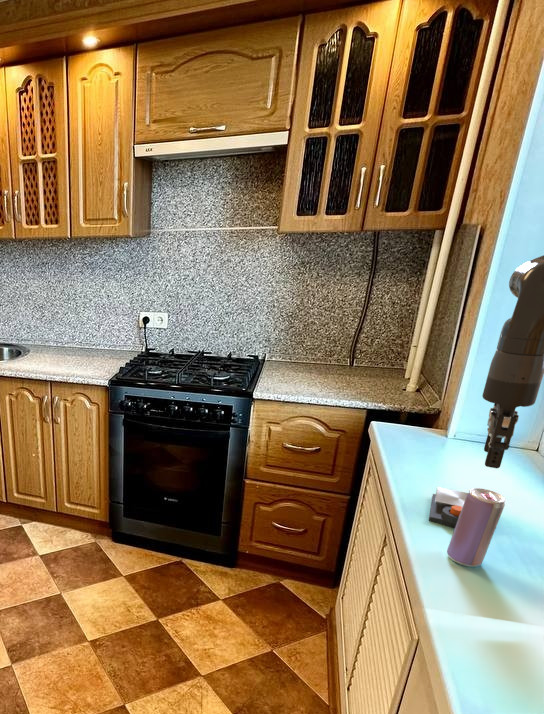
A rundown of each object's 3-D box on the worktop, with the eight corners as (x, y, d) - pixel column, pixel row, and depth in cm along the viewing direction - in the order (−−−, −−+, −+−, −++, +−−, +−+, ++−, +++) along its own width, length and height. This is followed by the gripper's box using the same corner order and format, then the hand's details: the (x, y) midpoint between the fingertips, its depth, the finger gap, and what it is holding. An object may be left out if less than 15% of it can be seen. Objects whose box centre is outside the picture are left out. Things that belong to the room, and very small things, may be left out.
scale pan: (436, 488, 131) (437, 486, 131) (481, 497, 126) (482, 495, 126) (434, 502, 124) (435, 500, 124) (482, 512, 119) (482, 511, 119)
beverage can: (453, 565, 105) (477, 500, 100) (441, 548, 111) (463, 485, 105) (487, 570, 104) (513, 504, 98) (473, 553, 110) (497, 489, 104)
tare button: (450, 510, 121) (451, 504, 121) (465, 513, 120) (466, 507, 119) (449, 515, 119) (451, 509, 119) (465, 518, 118) (466, 512, 117)
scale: (431, 498, 132) (434, 487, 131) (481, 508, 127) (484, 497, 126) (428, 523, 121) (430, 512, 120) (482, 536, 116) (485, 524, 115)
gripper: (546, 388, 87) (519, 477, 92) (538, 370, 97) (514, 451, 103) (489, 382, 91) (466, 467, 97) (487, 366, 102) (466, 443, 107)
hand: (491, 459), depth 100 cm, fingers open, 8 cm apart
